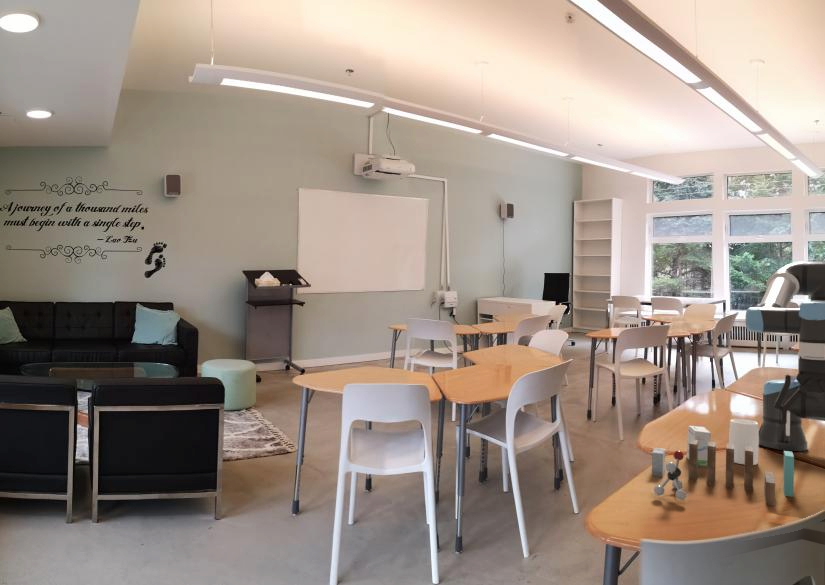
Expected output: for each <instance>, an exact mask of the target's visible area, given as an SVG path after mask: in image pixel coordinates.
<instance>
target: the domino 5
mask: <svg viewBox="0 0 825 585" xmlns="http://www.w3.org/2000/svg"><path fill="white" fill-rule="evenodd" d="M764 499H765V501H764V502H765V505H766V506H772V507H776V480H775V474H774V472H771V471H764Z"/></svg>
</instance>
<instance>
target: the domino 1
mask: <svg viewBox="0 0 825 585" xmlns="http://www.w3.org/2000/svg"><path fill="white" fill-rule="evenodd" d="M698 467H699V466H698V440H692V439H691V440H690V443H689V460H688V482H694V483H697V481H698V469H699V468H698Z"/></svg>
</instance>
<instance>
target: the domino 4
mask: <svg viewBox="0 0 825 585" xmlns="http://www.w3.org/2000/svg"><path fill="white" fill-rule="evenodd" d="M743 476H744V480H743V481H744V484H743V485H744V486H743V487H744V490H745V491H746V490H747V491H751V492H752V491H754V490H753V489H754V465H753V447H749V446H745V465H744V475H743Z"/></svg>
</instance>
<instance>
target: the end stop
mask: <svg viewBox="0 0 825 585" xmlns="http://www.w3.org/2000/svg"><path fill="white" fill-rule="evenodd" d="M665 466H666V448H661V447H656V446H655V447H654V448H653V451H652V452H651V476H653V477H658V478H664V475H665V471H666V467H665Z"/></svg>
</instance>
